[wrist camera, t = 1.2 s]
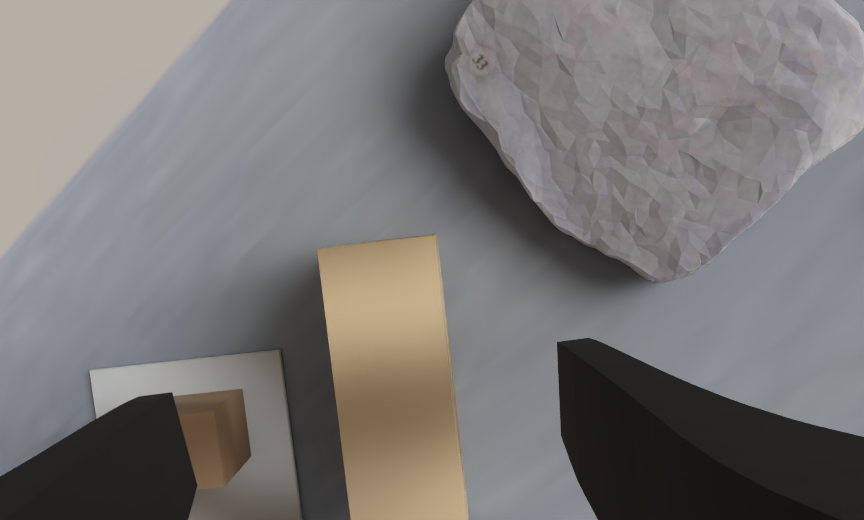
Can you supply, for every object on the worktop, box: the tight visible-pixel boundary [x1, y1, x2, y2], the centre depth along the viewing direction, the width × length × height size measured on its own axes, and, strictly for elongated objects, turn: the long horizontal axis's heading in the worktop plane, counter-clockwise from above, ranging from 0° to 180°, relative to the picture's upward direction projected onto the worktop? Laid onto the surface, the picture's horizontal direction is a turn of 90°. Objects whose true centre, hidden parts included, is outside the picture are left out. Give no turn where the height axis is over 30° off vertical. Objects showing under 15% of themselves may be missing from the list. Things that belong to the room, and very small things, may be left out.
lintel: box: [317, 234, 469, 520], centre depth 18 cm, size 10×3×5 cm, turn 7°
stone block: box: [445, 0, 864, 283], centre depth 19 cm, size 12×5×10 cm
